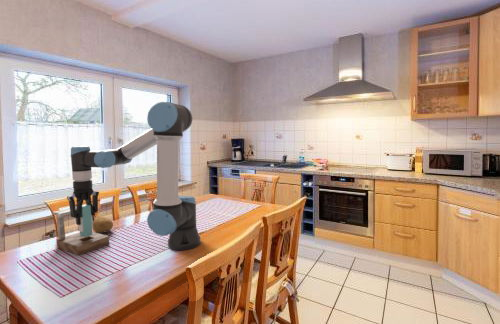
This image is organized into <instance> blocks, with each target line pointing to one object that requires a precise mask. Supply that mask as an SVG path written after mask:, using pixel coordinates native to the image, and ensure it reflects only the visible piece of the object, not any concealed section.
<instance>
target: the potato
mask: <svg viewBox="0 0 500 324" xmlns="http://www.w3.org/2000/svg"><path fill="white" fill-rule="evenodd" d="M113 228H114V223H113V221H112V220H111V219H110V218H108V217H105V216H95V217H94V221H93V229H92V231H93V232H95V233H99V234H103V233H108V232H109V231H111V230H112V229H113Z"/></svg>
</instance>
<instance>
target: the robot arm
mask: <svg viewBox="0 0 500 324" xmlns="http://www.w3.org/2000/svg"><path fill="white" fill-rule="evenodd" d="M146 120H147V121H146V122H147V123H148V126H149V127H150V129H147V130H146V131H144V132H142V133H141V134H139V135H138V136H136V137H135V138H133V139H131V140H129V141H128V142H125V144H123V145H122V146H120V147H118V148H115V149H103V150H101V149H100V150H91V148H90V146H89V145H79V146H78V145H77V146H76V145H75V146H74V145H73V146H72V147H70V160H71V174H72V180H73V181H72V188H73V192H72V194H71V195H68V196H67V197H66V200H68V203H69V204H68V205H69V206H68V207H69V208H70V213H71V214H70V217H71V218H74V219H75V223H76V225H77V226H78V227H77V228H78V232H80V231H81V232H84V228H83V218H82V217H81V212H82V205H83V203H84V201H85V204H86V205H90V206H91V221H92V230H93V221H94V218H95V217H94V216H95V214H96V213H98V212H99V198H98V197H99V194H100V191H96V190H94V189H93V180H92V179H93V175H92V174H93V173H92V168H101V169H107V168H111V167H113V166H119V165H121V166H122V165H126V164H129V163H131V162H132V160H133V158H136V157H137V156H139V155H141V154H143V153H144V152H146V151H148V150H149V149H151V148H153V147H155V146H156V198H155V199H154V200H153V201H152V210H151V211H150V212H149V214H148V215H147V219H146V221H147V225H148V228H149V230H151V231H152V232H153V234H155V235H157V236H160V237H165V236H169V237H168V239H167V247H168V249H170V250H173V251H189V250H192V249H195V248H197V247H199V246H200V245H201V242H202V241H201V237H200V236H201V235H199V234H200V233H199V231H198V228H197V202H196V198H195V197H194V196H191V195H190V196H189V195H179V170H180V169H179V163H180V162H179V156H180V155H179V153H180V152H179V151H180V146H179V145H180V144H179V143H180V140H181V139H182V138H183V135H184V134H183V133H184V132H186V131H187V130H189V129H190V127H191V126H192V124H193V115H192V112H191V110H190V109H189V108H188V107H186V106H184V105H182V104H177V103H173V102H169V101H158V102H156V103H154V104H153V105H152V106H151V107H150V108H149V109H148V112H147V115H146ZM75 199H76V200H75ZM75 201H76V202H75Z"/></svg>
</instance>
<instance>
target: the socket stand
mask: <svg viewBox="0 0 500 324" xmlns="http://www.w3.org/2000/svg"><path fill="white" fill-rule="evenodd" d="M52 214H53V215H55V216H56V228H57V238H56V247H57V249H60V250H62V251H66V252H68V253H70V254H73V253H74V255H77V256H82V255H84V254H87V253H91V252H92V250H93V251H95V250H97V249H100V247H101V248H103V247H106V246H108V244H109V245H110V236H109V235H106V234H103V233H99V232H96V231H92V235H89V236H86V237H83V236H80V231H78V232H77V233H73V234H71V235H67V236H66V230H65V218H64V216H67V215H71V213H70V207H69V208H64V209H61V210H56V211H53V212H52Z"/></svg>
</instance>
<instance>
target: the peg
mask: <svg viewBox="0 0 500 324" xmlns="http://www.w3.org/2000/svg"><path fill="white" fill-rule="evenodd" d="M81 217H82V218H83V228H84V232H81V231H79V232H80V236H83V237H86V236H89V235H92V232H93V229H92V221H91V206H90V205H86V203H85V204H82V212H81Z"/></svg>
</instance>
